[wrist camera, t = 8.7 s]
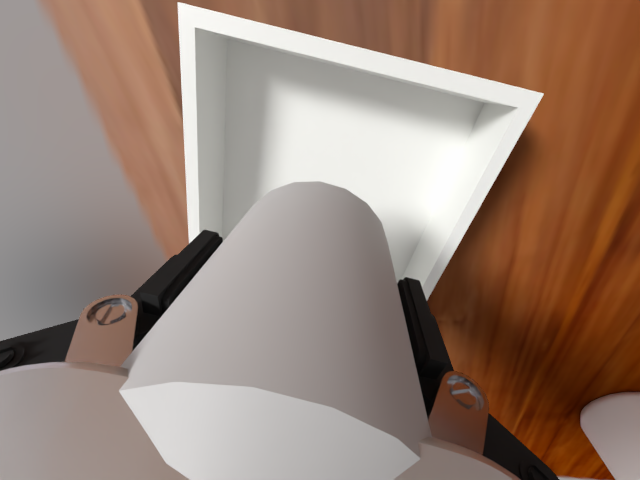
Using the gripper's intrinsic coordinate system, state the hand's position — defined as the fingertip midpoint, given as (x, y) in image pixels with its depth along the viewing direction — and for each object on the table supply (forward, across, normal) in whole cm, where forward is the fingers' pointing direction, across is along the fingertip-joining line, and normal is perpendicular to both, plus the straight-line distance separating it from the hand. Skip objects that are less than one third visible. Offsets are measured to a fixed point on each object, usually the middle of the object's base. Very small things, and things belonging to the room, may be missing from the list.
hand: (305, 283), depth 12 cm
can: (+4, 0, 0) cm, 4 cm away
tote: (+12, 0, 0) cm, 12 cm away
